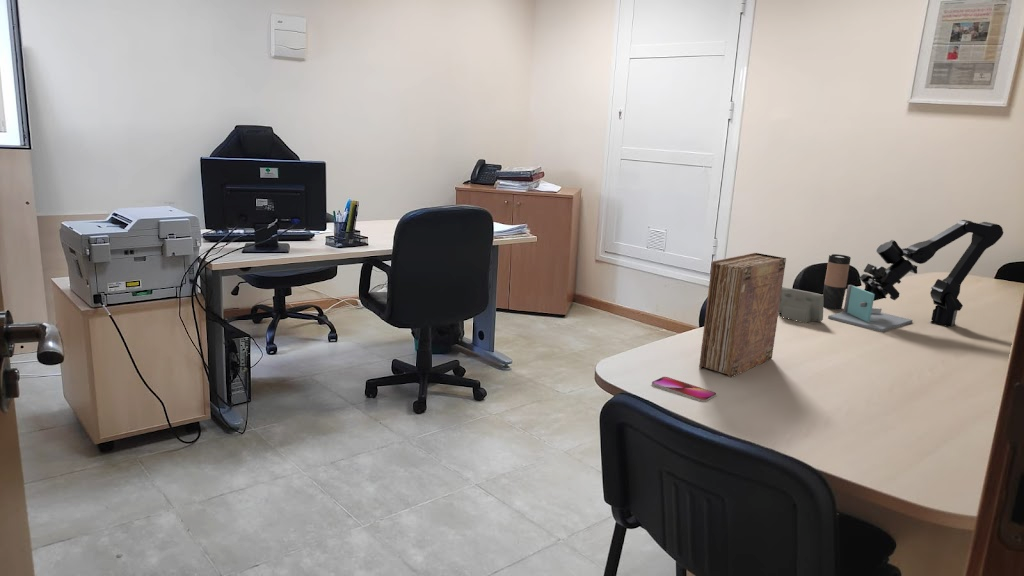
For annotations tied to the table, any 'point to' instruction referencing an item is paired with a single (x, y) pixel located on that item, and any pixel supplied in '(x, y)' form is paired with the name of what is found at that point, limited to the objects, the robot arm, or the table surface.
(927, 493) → the table surface
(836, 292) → the travel mug
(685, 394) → the smartphone
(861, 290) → the door
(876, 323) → the base board
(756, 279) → the book
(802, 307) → the digital clock
